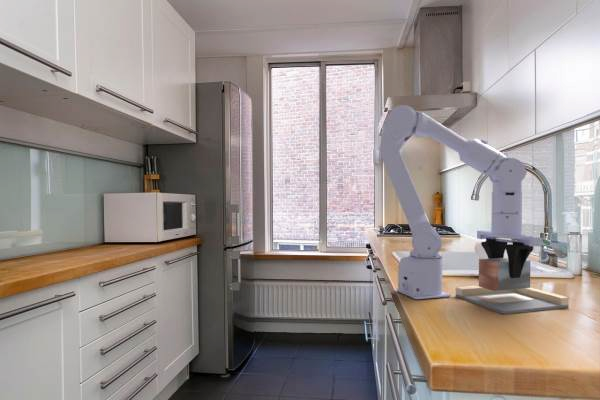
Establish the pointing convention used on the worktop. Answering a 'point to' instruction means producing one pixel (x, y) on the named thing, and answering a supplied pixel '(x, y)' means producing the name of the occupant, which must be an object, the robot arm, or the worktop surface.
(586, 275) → the worktop surface
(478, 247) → the lightbulb
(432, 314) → the worktop surface
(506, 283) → the painted block
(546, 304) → the tray
